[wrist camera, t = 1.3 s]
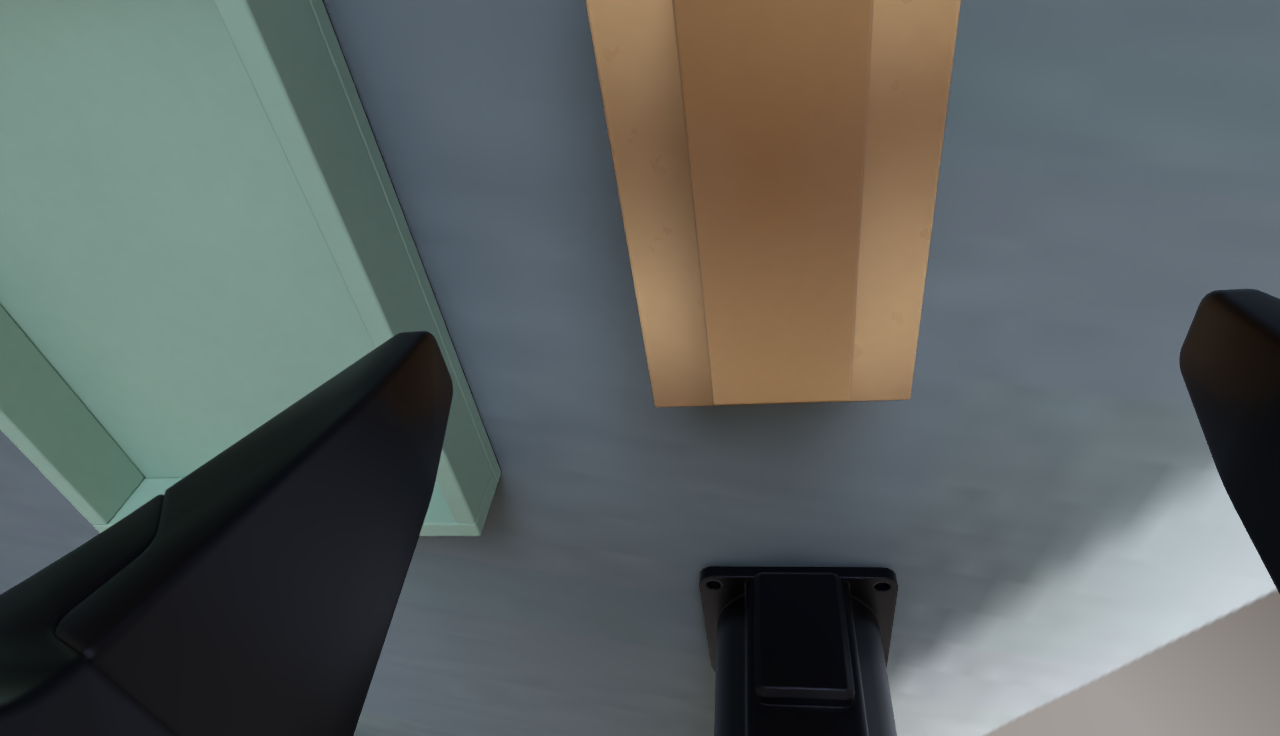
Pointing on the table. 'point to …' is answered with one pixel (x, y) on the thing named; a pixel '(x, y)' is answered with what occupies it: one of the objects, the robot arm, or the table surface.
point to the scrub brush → (776, 188)
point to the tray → (195, 244)
